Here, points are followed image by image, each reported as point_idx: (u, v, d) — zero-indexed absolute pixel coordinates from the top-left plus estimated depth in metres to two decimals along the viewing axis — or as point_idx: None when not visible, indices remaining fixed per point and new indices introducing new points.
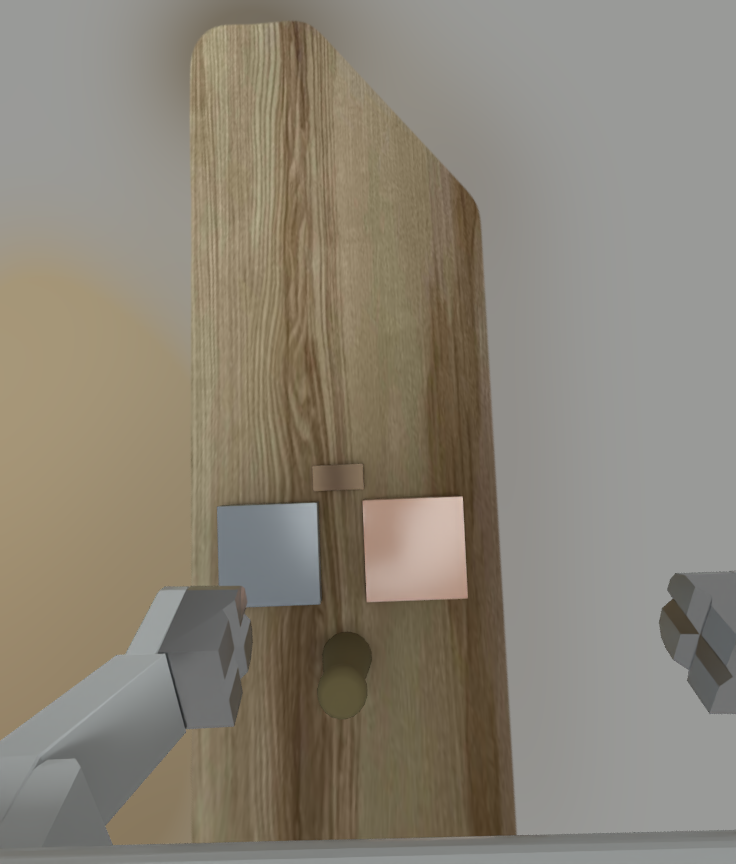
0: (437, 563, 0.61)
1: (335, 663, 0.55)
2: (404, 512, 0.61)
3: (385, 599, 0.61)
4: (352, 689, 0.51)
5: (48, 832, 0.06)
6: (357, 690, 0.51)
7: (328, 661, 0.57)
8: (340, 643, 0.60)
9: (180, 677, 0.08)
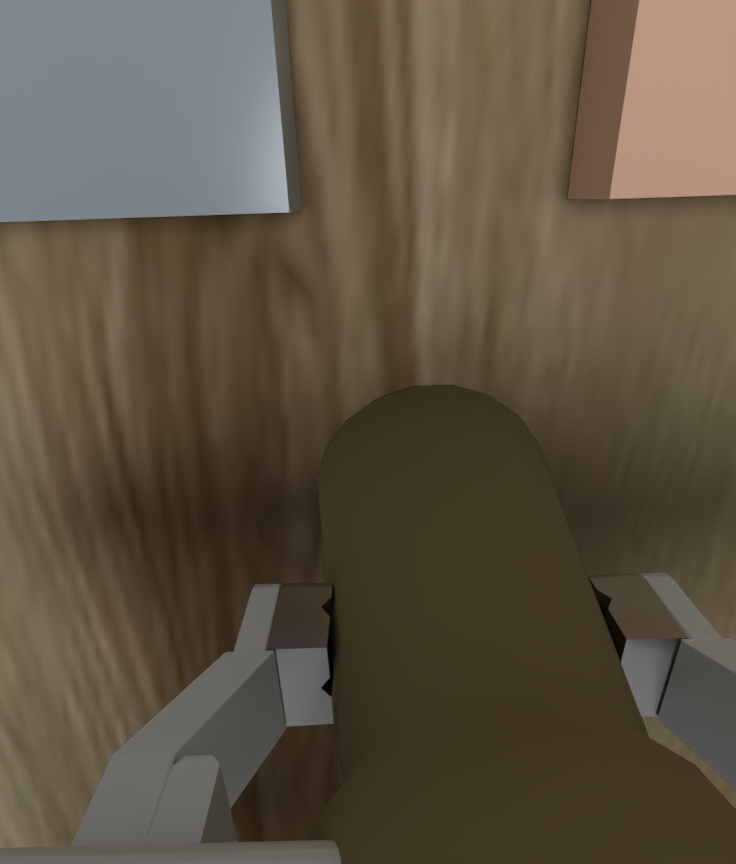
0: None
1: (432, 650, 0.06)
2: None
3: None
4: None
5: (203, 828, 0.05)
6: None
7: (361, 583, 0.08)
8: (422, 455, 0.10)
9: (286, 674, 0.08)
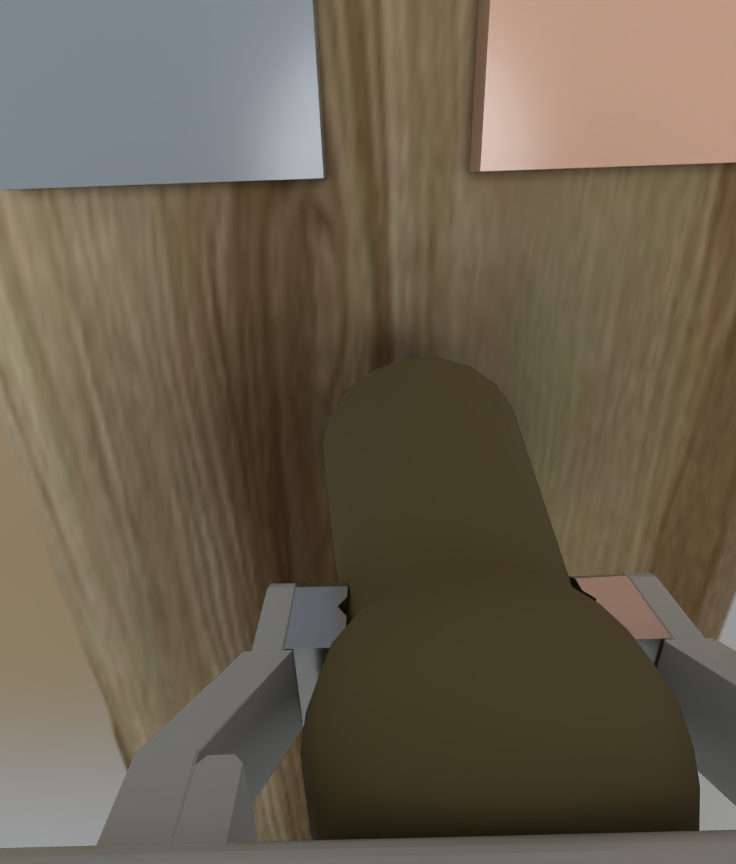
0: None
1: (414, 539, 0.09)
2: None
3: (543, 161, 0.18)
4: None
5: (230, 828, 0.05)
6: None
7: (360, 505, 0.10)
8: (410, 409, 0.12)
9: (304, 674, 0.08)
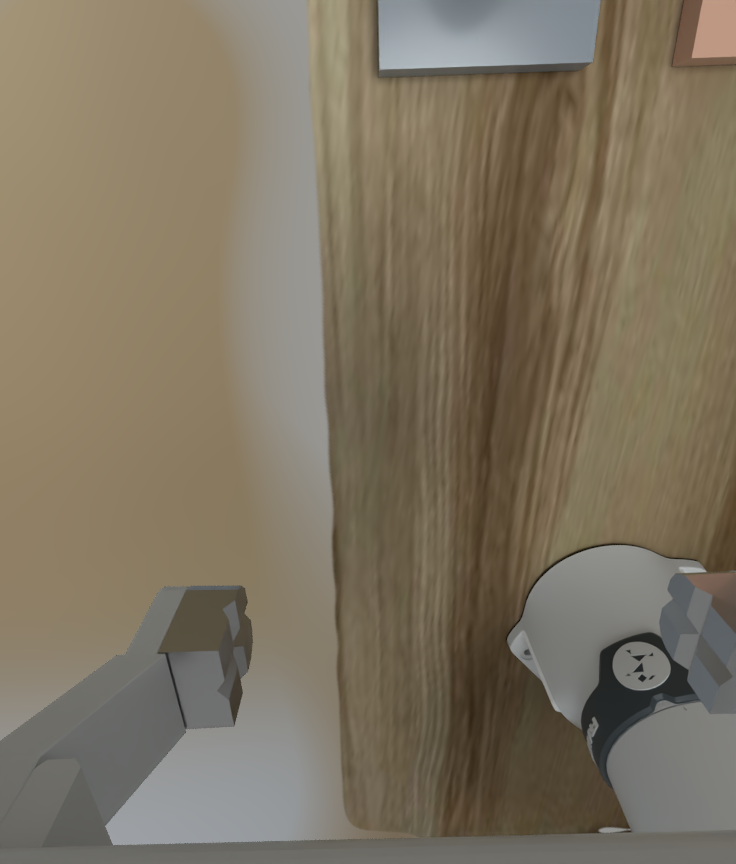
0: None
1: None
2: None
3: (732, 51, 0.29)
4: None
5: (48, 832, 0.06)
6: None
7: None
8: None
9: (180, 677, 0.08)
